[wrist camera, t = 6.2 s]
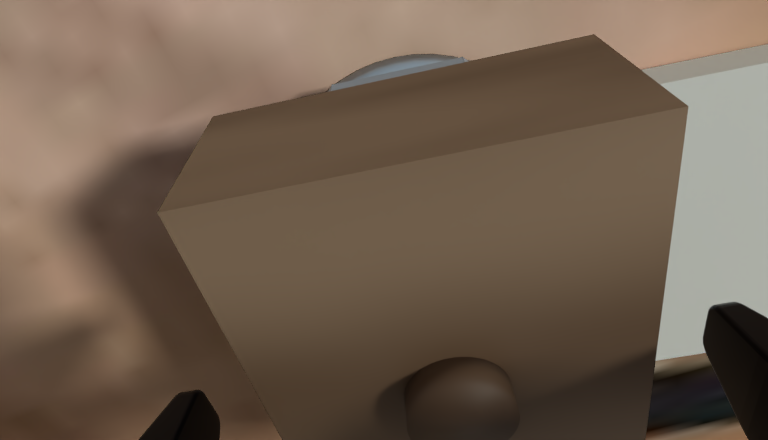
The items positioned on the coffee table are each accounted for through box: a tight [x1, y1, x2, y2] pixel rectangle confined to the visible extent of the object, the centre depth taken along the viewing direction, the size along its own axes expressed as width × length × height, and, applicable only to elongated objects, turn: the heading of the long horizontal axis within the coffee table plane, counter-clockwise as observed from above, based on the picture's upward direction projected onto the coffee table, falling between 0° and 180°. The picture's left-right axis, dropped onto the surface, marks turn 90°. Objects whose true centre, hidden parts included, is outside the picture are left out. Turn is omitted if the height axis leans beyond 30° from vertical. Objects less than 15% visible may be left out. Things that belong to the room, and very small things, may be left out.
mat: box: [642, 44, 768, 361], centre depth 15 cm, size 10×10×1 cm
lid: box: [157, 34, 689, 440], centre depth 10 cm, size 9×6×4 cm
